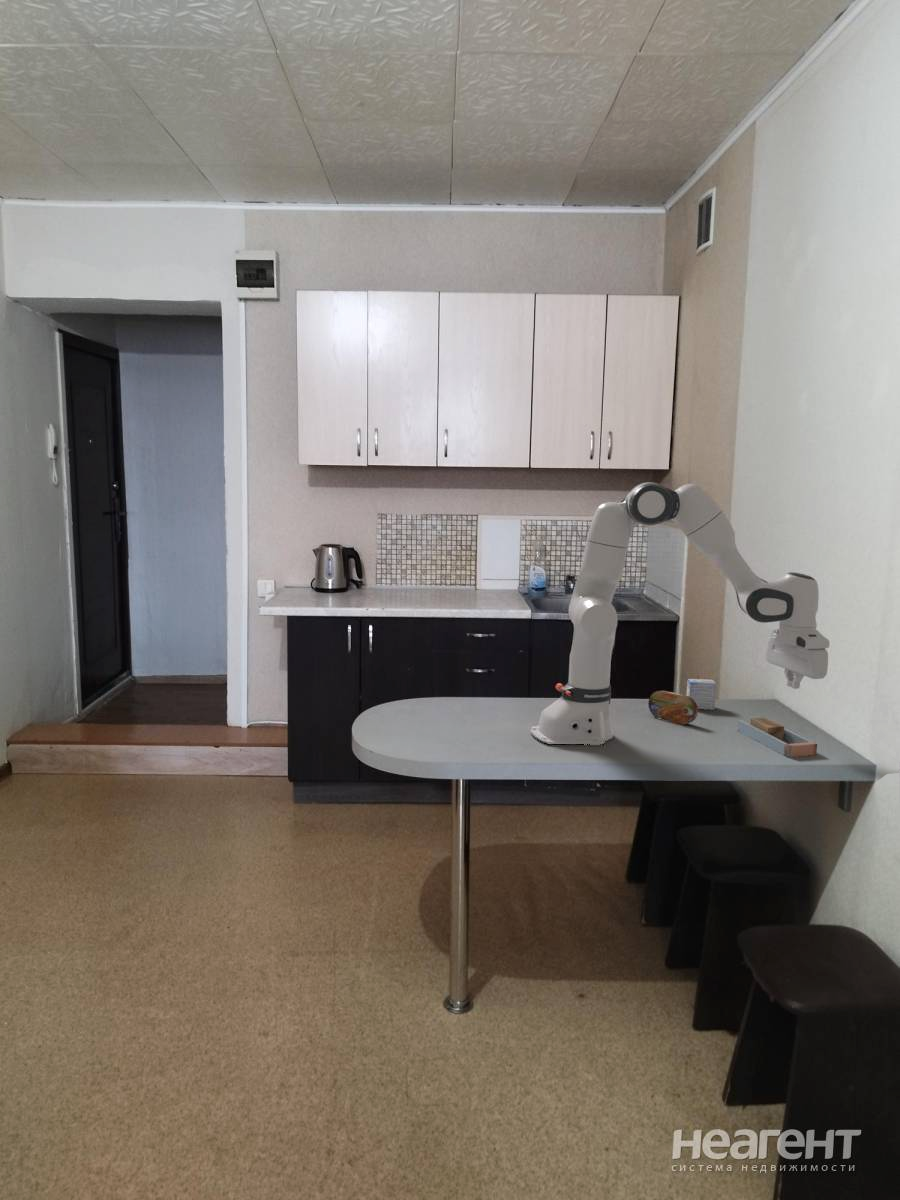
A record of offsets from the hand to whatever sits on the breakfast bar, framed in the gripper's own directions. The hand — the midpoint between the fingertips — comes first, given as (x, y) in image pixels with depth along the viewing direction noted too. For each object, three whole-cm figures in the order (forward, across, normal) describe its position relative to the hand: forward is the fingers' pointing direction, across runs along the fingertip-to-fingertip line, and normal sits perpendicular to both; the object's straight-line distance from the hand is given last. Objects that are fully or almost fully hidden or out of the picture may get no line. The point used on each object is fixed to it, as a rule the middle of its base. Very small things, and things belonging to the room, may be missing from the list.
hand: (793, 687), depth 212 cm
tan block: (+17, -9, 0) cm, 19 cm away
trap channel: (+17, -5, 0) cm, 17 cm away
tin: (+17, -28, -18) cm, 37 cm away
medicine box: (+17, -38, -3) cm, 42 cm away
